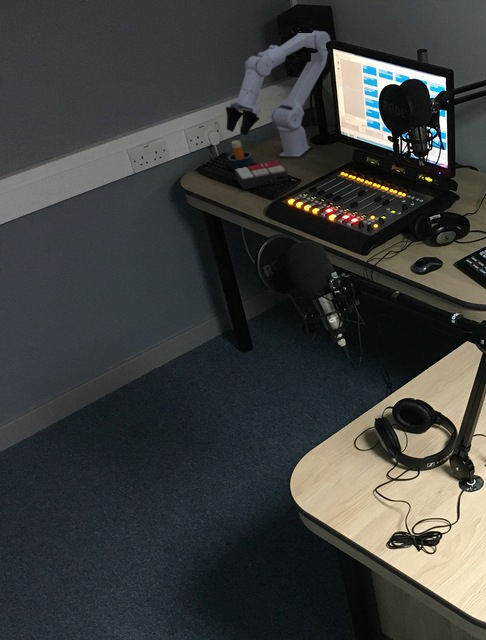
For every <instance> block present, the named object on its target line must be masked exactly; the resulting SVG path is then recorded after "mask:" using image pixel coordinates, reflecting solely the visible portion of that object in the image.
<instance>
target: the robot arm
mask: <svg viewBox="0 0 486 640" xmlns="http://www.w3.org/2000/svg"><path fill="white" fill-rule="evenodd" d="M329 41H331V37H330V35H329V33H328V32H327V31H322V30H321V31H320V30H314V31H313V32H312V33H298V32H297V34H296V35H295V36H293V37H292V38H290V39H288V40H287V41H286V42H284V43H283V44H281V45H280V46H279V45H272V44H271V45H270V46H268V48H267V49H266V50H264V51H260V52H258V53H257V55H251V56H250V57H248V58H247V60H245V62H244V67H245V73H244V78H243V81H242V83H241V87H240V90H239V93H238V96H237V99H236V100H233V101H229V103H228V105H227V106H226V107H225V111H226V130H228V131H230V132H231V133H232V132H234V130H235V129H236V126H237V123H238V122H239V120H240V119H241V117H242V120H241V125H240V128H239V129H240V130H239V133H240V134H242V135H243V136H247V135H248V134H249V132H250V130H251V129H252V127H253V126H254V125H255V124H256V123H257V122H258V121H259V120H260V117H259V116H260V113H261V109H260V108H258V107H256V103H257V101H258V97H259V95H260V92H261V89H262V85H263V83H264V79H265V78H266V77H267V76H269V75H270V74H271V72H272V70H273V69H275V68H277V67H278V66H280V65H281V64H283V63H285V61H286V58H287V57H288V56H290V55H291V54H293V53H295V52H297V51H299V50H301V49H303V47H306V48H313V49H316V50H318V52H316V53H311V61H310V62H308V61H307V63H306V65H305V66H304V68H303V69H302V71H301V73H300V76H299V77H298V79H297V81H296V82H295V84H294V85H293V87H292V90H291V91H290V93H289V94H288V96H287V98H285V99H283V100H282V101H280V102H279V104H278V105H277V106H276V107H274V108H273V110H272V111H271V114H270V119H271V121H272V123H273V125H275V126H276V129H277V130H278V135H279V138H280V142H281V147H282V150H283V151H282V152H281V153H280V154H279V157H301V156H302V155H303V154H304V153H305V152H307V151H308V150H309V149H310V148H311V145H309V144H308V140H307V139H308V138H307V135H306V131H305V128H304V127H303V126H302V124H303V123H302V122H303V117H304V116H305V112H304V109H303V106H304V104H305V103H306V100H307V99H308V97H309V95H310V94H311V92H312V90H313V88H314V86H315V85H316V83H317V81H318V79H319V77H320V76H321V74H322V72H323V70H324V68H325V67H326V64H327V59H328V54H329V52H328V51H327V48H326V43H327V42H329Z"/></svg>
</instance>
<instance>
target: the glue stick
mask: <svg viewBox="0 0 486 640" xmlns="http://www.w3.org/2000/svg"><path fill="white" fill-rule="evenodd" d="M231 146H232V151H233V154H235V158H236V160H239V159H244V158H245V157H244V153H243V152H244V150H243V146H242V142H241V140H237V139H236V140H232V141H231Z"/></svg>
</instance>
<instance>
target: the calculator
mask: <svg viewBox="0 0 486 640" xmlns="http://www.w3.org/2000/svg"><path fill="white" fill-rule="evenodd" d="M233 172H234V177H235V180H236V181H237V183H238V185H240V187H241V189H242V190H248V189H252V188H255V187H258V186H259V187H260V186H264V185H268V184H272V183H276V182H278V183H280V182H284V181H289V176H288V171H287V169H286V168H285V167H284V166H283V165H282V164H281V163H280V162H279V161H278V160H273V161H267V162H263V163H257V164H254V165H251V166H248V167H243V168H237V169H235V170H233ZM280 176H288V177H287V178H283V179H278V180H274V181H270V182H267V181H269V180H272V179H275V178H277V177H280ZM264 182H266V183H264ZM261 183H262V184H261Z"/></svg>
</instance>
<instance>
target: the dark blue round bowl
mask: <svg viewBox="0 0 486 640" xmlns="http://www.w3.org/2000/svg"><path fill="white" fill-rule="evenodd" d="M243 153H244V157H245V158H244V159H239V160H236V158H235V154H234V153H232V154H230V155H228V156H227V160H228V163H229V166H231V167H234V168H239V167H244V166H246V165H248V164H250V163H253V164H254V165H255V163H254V160H253V155H252V153H251V152H248V151H243ZM231 167H230V169H231V170H232V171H234V170H235V169H234V168H231Z"/></svg>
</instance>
